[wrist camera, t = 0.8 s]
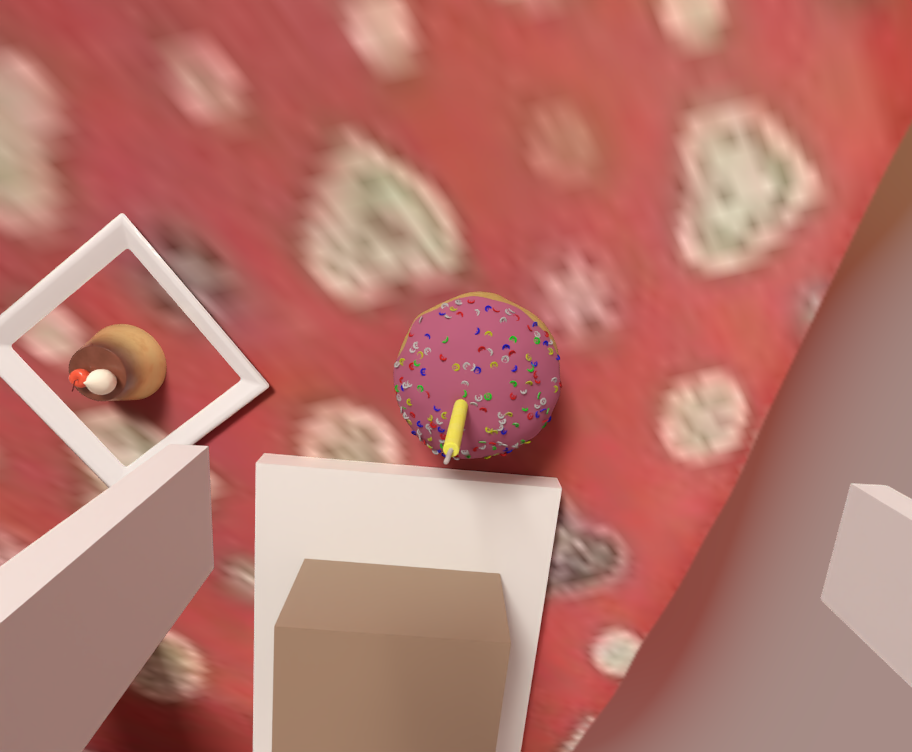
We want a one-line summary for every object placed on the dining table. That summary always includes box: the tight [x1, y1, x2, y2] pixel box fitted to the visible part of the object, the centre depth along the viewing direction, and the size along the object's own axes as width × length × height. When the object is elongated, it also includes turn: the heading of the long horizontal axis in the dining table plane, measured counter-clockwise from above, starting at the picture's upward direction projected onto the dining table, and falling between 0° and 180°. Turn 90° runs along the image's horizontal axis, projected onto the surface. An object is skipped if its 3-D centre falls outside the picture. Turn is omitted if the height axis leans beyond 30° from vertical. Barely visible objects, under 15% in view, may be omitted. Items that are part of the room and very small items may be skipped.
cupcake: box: [394, 292, 562, 464], centre depth 26 cm, size 9×8×12 cm
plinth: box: [253, 453, 562, 752], centre depth 32 cm, size 18×22×8 cm
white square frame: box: [0, 213, 269, 488], centre depth 30 cm, size 12×12×5 cm
